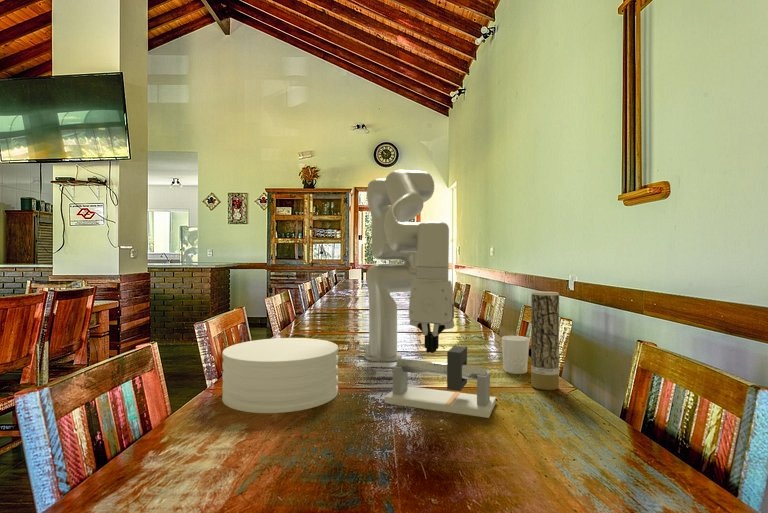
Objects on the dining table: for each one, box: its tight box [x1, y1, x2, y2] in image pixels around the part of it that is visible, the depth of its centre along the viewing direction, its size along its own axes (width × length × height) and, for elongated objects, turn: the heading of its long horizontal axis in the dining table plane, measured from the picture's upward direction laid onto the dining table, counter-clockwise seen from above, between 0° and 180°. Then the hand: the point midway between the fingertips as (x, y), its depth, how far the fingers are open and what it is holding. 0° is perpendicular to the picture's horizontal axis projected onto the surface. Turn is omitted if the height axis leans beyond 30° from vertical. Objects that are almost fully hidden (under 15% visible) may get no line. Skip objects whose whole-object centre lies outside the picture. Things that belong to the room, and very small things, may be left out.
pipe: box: [395, 358, 488, 381], centre depth 103 cm, size 21×3×3 cm, turn 67°
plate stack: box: [221, 337, 339, 414], centre depth 110 cm, size 28×28×12 cm
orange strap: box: [445, 391, 461, 406], centre depth 102 cm, size 1×10×8 cm, turn 157°
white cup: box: [501, 335, 530, 375], centre depth 132 cm, size 8×8×10 cm
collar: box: [446, 345, 468, 392], centre depth 102 cm, size 3×7×8 cm, turn 157°
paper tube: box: [530, 290, 560, 391], centre depth 116 cm, size 7×7×25 cm
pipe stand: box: [384, 364, 497, 419], centre depth 103 cm, size 24×10×8 cm, turn 67°
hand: (431, 351), depth 104 cm, fingers closed
